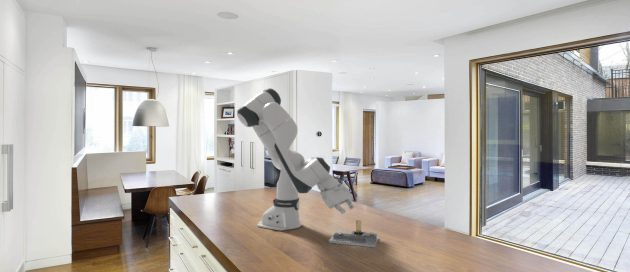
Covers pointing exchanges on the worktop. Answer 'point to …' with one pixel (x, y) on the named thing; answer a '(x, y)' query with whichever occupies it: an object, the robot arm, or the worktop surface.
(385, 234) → the worktop surface
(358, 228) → the brass pin
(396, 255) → the worktop surface
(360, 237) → the chain jig
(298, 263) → the worktop surface
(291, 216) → the robot arm
